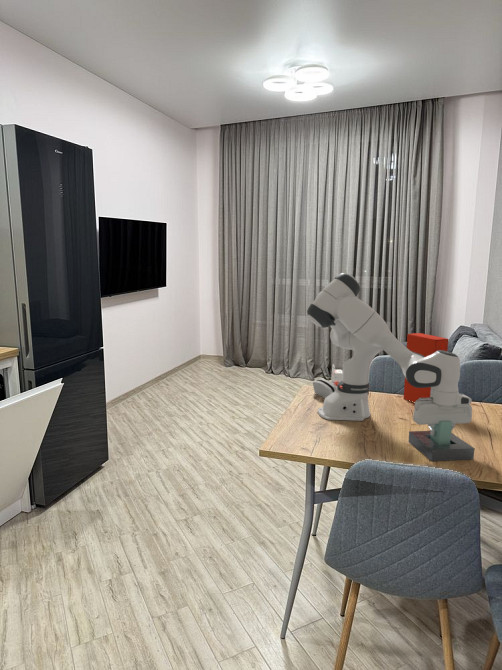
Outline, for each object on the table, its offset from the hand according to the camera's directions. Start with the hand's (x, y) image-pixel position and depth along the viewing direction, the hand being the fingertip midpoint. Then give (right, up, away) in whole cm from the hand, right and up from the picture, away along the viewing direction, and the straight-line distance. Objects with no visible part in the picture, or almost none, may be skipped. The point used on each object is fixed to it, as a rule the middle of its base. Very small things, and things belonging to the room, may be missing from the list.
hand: (440, 435), depth 165 cm
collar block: (0, -6, +1) cm, 6 cm away
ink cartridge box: (-24, +6, +68) cm, 73 cm away
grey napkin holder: (-30, +4, +62) cm, 69 cm away
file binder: (+14, +3, +55) cm, 57 cm away
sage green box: (0, -4, +1) cm, 4 cm away
